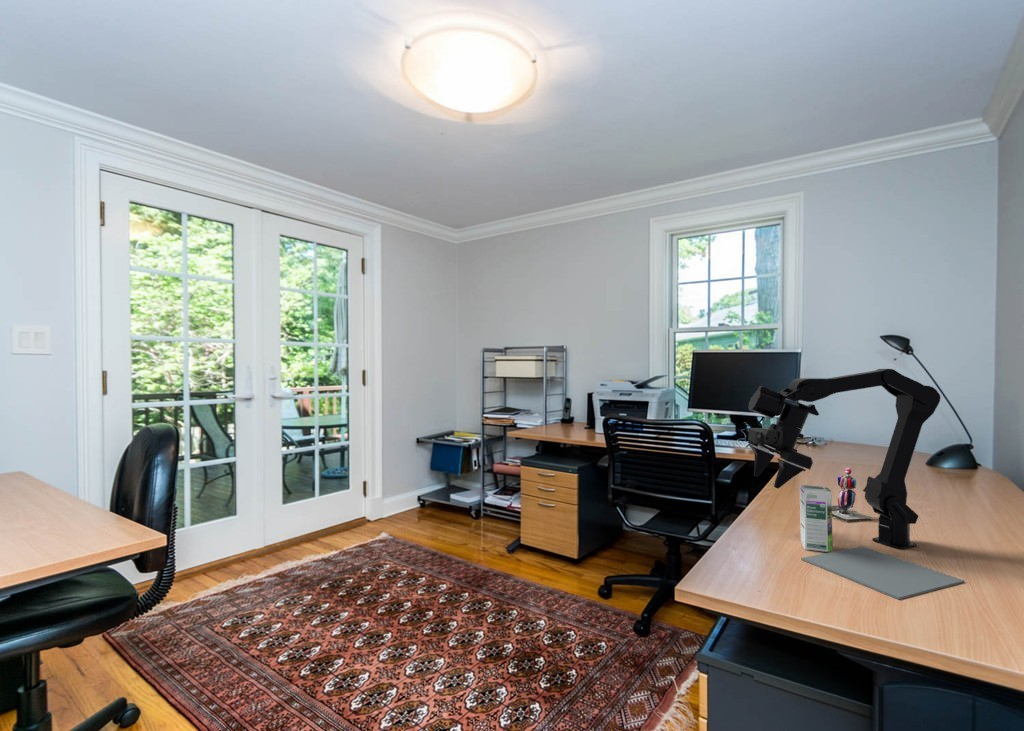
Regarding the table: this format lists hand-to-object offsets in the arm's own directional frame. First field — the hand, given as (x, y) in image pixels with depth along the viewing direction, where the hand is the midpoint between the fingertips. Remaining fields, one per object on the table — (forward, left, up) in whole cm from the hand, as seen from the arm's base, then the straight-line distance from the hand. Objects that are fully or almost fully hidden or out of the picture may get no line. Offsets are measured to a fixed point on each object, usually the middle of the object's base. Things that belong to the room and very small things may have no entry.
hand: (765, 481), depth 124 cm
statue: (-35, -5, -14) cm, 38 cm away
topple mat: (-5, +24, -14) cm, 28 cm away
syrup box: (-5, +10, -14) cm, 18 cm away
